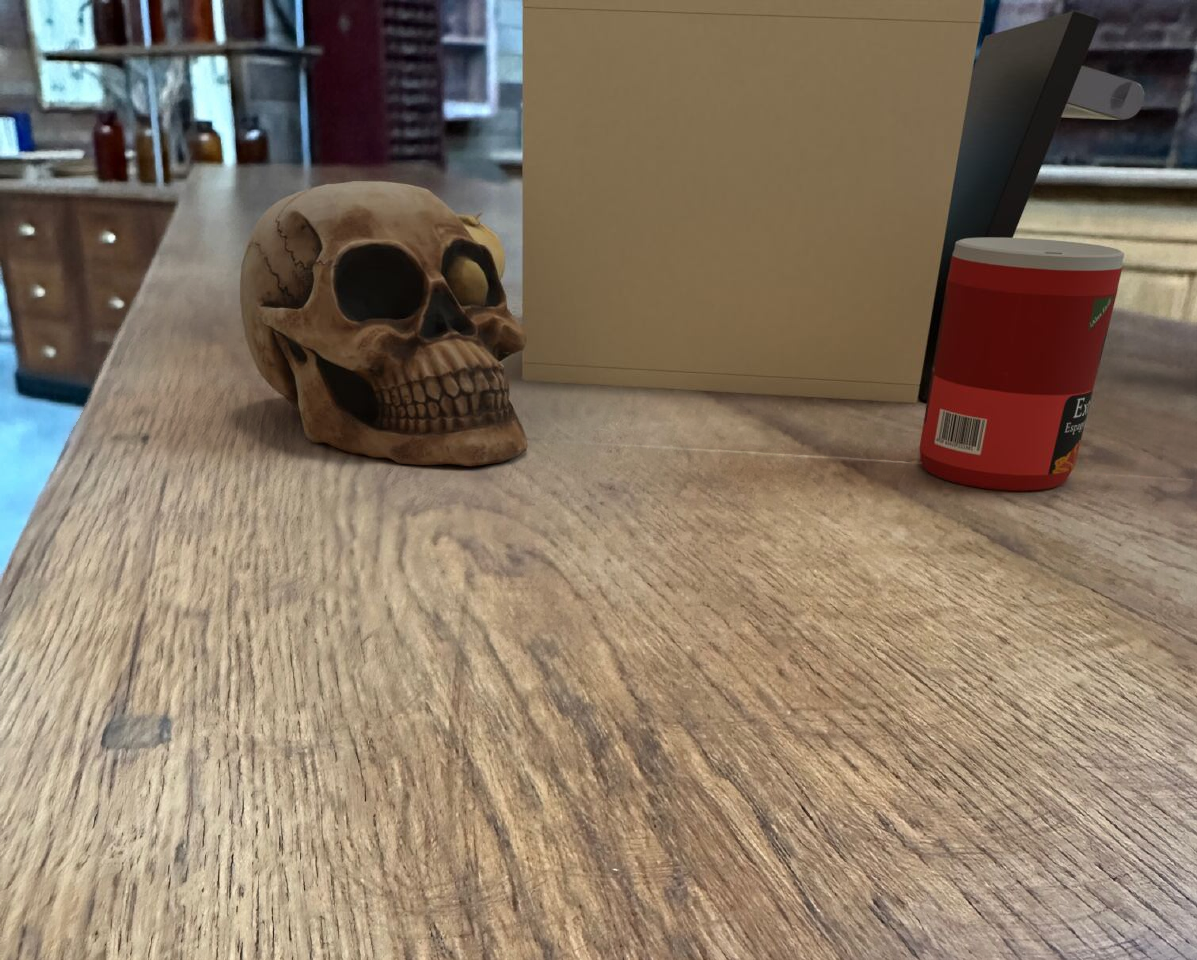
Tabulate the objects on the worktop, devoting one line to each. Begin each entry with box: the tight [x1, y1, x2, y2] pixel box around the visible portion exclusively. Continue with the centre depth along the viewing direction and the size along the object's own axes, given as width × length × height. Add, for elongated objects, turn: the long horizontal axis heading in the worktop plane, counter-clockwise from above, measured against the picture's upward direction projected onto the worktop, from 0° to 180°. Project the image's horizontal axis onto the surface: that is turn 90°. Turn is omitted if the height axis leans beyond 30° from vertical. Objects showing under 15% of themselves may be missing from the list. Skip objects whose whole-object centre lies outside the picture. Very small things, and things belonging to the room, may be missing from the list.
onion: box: [455, 211, 506, 281], centre depth 111 cm, size 8×8×7 cm
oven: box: [521, 0, 985, 404], centre depth 84 cm, size 26×28×22 cm
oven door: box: [918, 10, 1145, 402], centre depth 83 cm, size 7×28×22 cm, turn 174°
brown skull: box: [239, 180, 528, 467], centre depth 64 cm, size 16×17×13 cm
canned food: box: [918, 237, 1125, 492], centre depth 60 cm, size 8×8×11 cm
